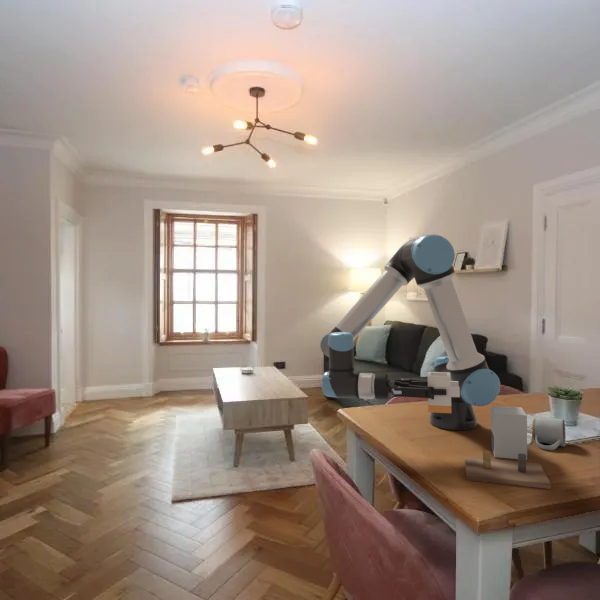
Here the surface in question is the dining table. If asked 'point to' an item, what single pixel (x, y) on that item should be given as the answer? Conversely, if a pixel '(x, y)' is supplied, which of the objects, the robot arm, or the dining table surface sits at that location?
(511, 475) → the pin board
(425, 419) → the dining table surface
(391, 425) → the dining table surface
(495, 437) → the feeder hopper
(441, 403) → the sleeve
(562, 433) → the ceramic mug
